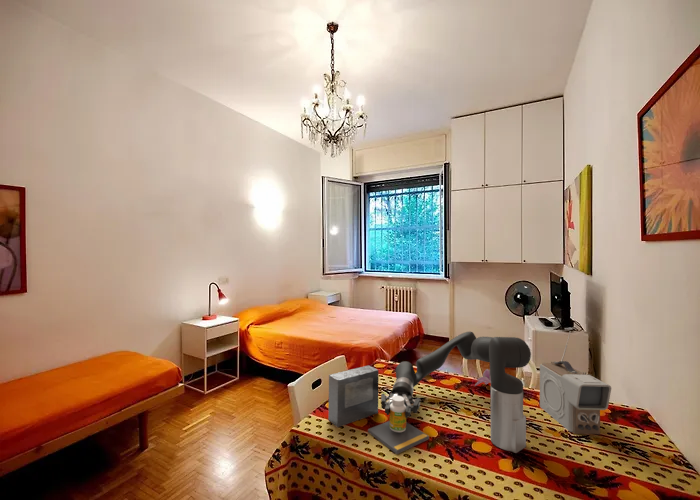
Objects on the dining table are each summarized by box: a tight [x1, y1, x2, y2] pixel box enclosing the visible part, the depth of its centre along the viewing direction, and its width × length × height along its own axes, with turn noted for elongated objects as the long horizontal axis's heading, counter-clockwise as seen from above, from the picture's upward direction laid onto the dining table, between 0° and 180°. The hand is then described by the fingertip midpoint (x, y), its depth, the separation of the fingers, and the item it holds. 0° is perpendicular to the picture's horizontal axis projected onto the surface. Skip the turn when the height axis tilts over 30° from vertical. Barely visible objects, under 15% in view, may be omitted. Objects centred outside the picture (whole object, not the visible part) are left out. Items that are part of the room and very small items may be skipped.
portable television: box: [539, 331, 612, 435], centre depth 114 cm, size 12×24×30 cm, turn 178°
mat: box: [367, 420, 430, 455], centre depth 104 cm, size 14×14×1 cm
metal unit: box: [327, 364, 379, 428], centre depth 116 cm, size 7×18×16 cm, turn 124°
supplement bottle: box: [389, 396, 407, 432], centre depth 104 cm, size 5×5×10 cm
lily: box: [474, 368, 491, 387], centre depth 141 cm, size 12×12×10 cm
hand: (396, 413), depth 101 cm, fingers closed on supplement bottle, 5 cm apart
